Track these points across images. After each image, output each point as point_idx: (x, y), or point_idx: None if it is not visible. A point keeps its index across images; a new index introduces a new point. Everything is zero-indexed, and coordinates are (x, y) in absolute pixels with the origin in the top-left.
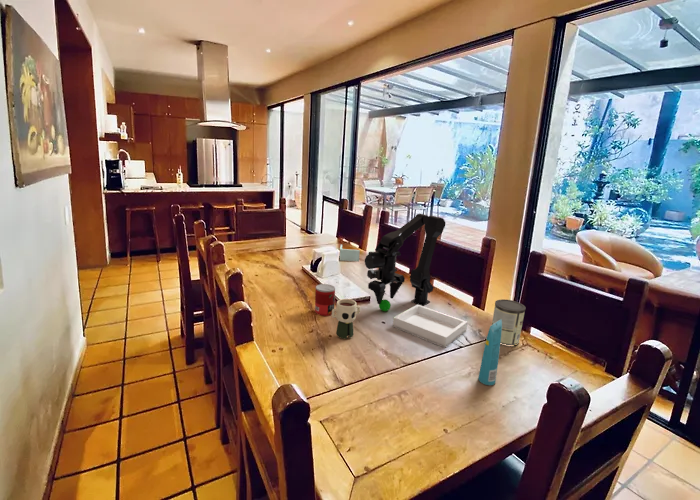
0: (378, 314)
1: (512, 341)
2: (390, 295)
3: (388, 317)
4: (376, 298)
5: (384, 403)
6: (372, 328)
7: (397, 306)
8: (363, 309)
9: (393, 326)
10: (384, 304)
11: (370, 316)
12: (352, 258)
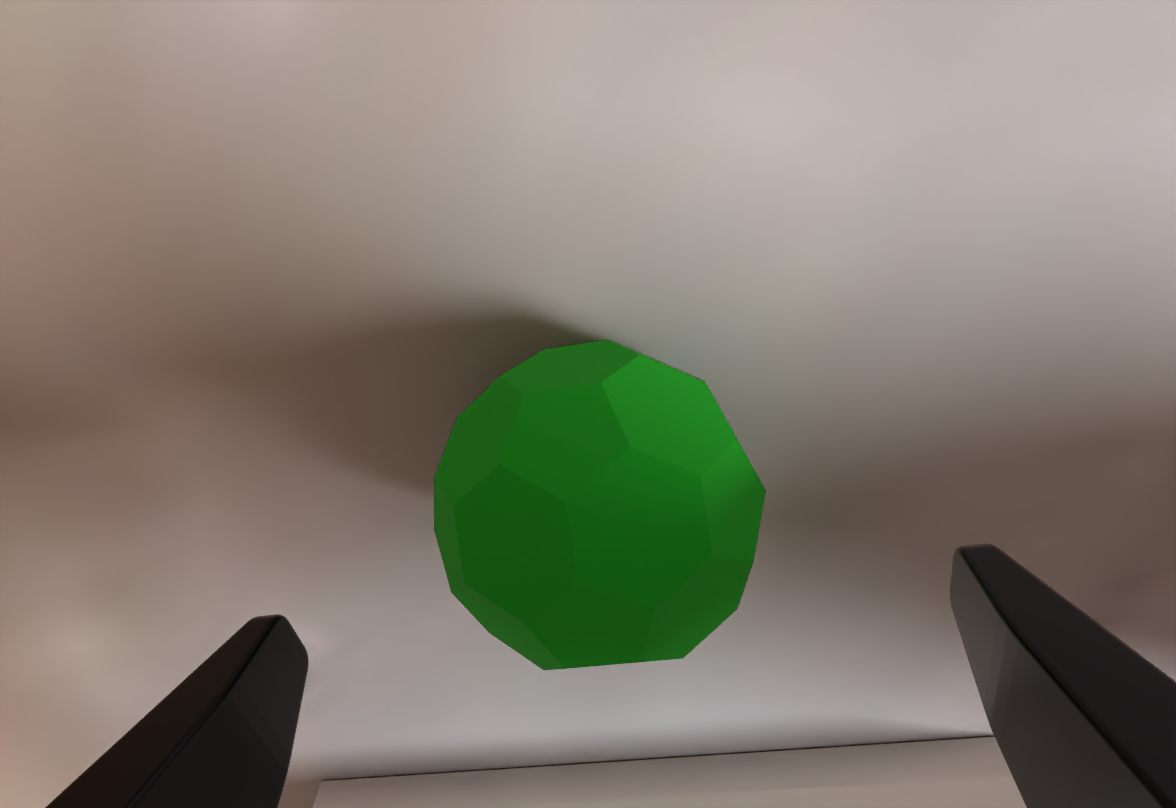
0: (355, 473)
1: None
2: (992, 619)
3: (457, 622)
4: (95, 775)
5: None
6: (7, 700)
7: (1060, 422)
8: (123, 82)
9: (324, 795)
10: (488, 627)
11: (142, 453)
12: None
